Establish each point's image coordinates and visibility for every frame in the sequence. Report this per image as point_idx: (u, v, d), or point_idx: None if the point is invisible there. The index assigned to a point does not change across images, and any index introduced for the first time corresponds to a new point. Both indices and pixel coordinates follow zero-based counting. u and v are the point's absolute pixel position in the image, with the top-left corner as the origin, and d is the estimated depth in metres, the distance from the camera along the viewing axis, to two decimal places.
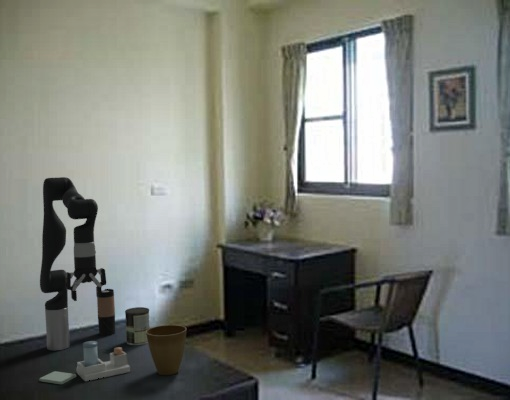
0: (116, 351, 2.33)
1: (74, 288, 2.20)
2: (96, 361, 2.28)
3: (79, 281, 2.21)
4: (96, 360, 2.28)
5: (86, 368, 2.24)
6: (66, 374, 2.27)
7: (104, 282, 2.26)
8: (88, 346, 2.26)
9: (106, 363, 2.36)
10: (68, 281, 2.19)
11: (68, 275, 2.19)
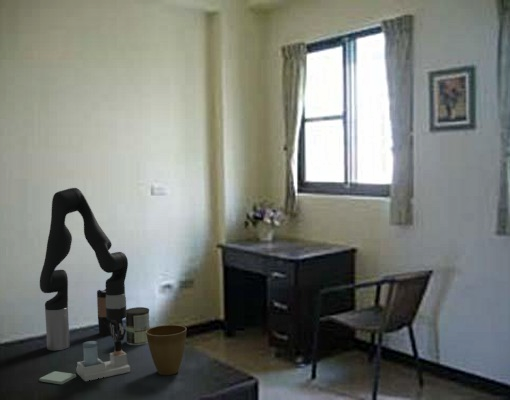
0: (116, 354, 2.33)
1: None
2: (96, 361, 2.28)
3: None
4: (96, 360, 2.28)
5: (86, 368, 2.24)
6: (66, 374, 2.27)
7: None
8: (88, 346, 2.26)
9: (106, 363, 2.36)
10: None
11: None
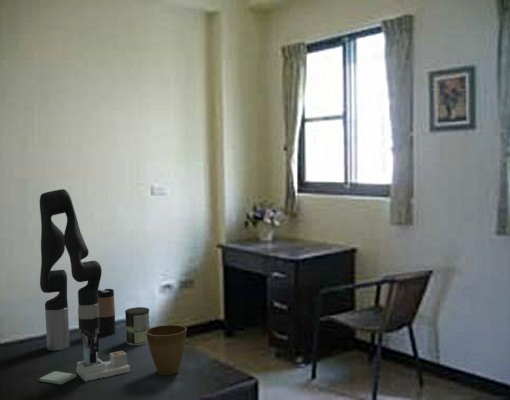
0: None
1: None
2: (96, 361, 2.28)
3: None
4: (96, 360, 2.28)
5: (86, 368, 2.24)
6: (66, 374, 2.27)
7: None
8: None
9: (106, 363, 2.36)
10: None
11: None
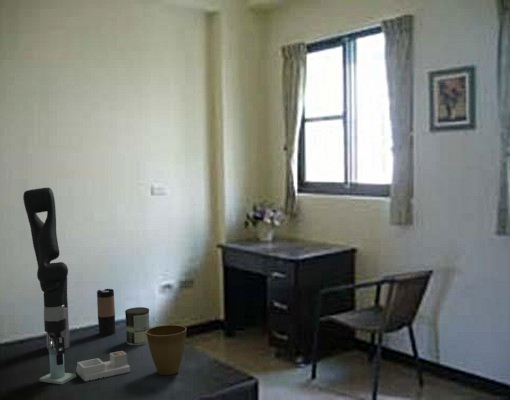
0: None
1: None
2: (62, 368, 2.25)
3: None
4: (62, 367, 2.25)
5: (86, 368, 2.24)
6: (66, 374, 2.27)
7: None
8: (54, 352, 2.23)
9: (106, 363, 2.36)
10: None
11: (63, 339, 2.20)
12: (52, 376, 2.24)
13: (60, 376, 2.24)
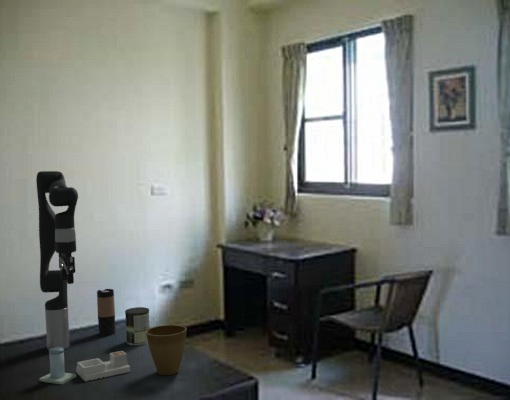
0: None
1: None
2: (62, 368, 2.25)
3: None
4: (62, 367, 2.25)
5: (86, 368, 2.24)
6: (66, 374, 2.27)
7: None
8: (54, 352, 2.23)
9: (106, 363, 2.36)
10: None
11: None
12: (52, 376, 2.24)
13: (60, 376, 2.24)
